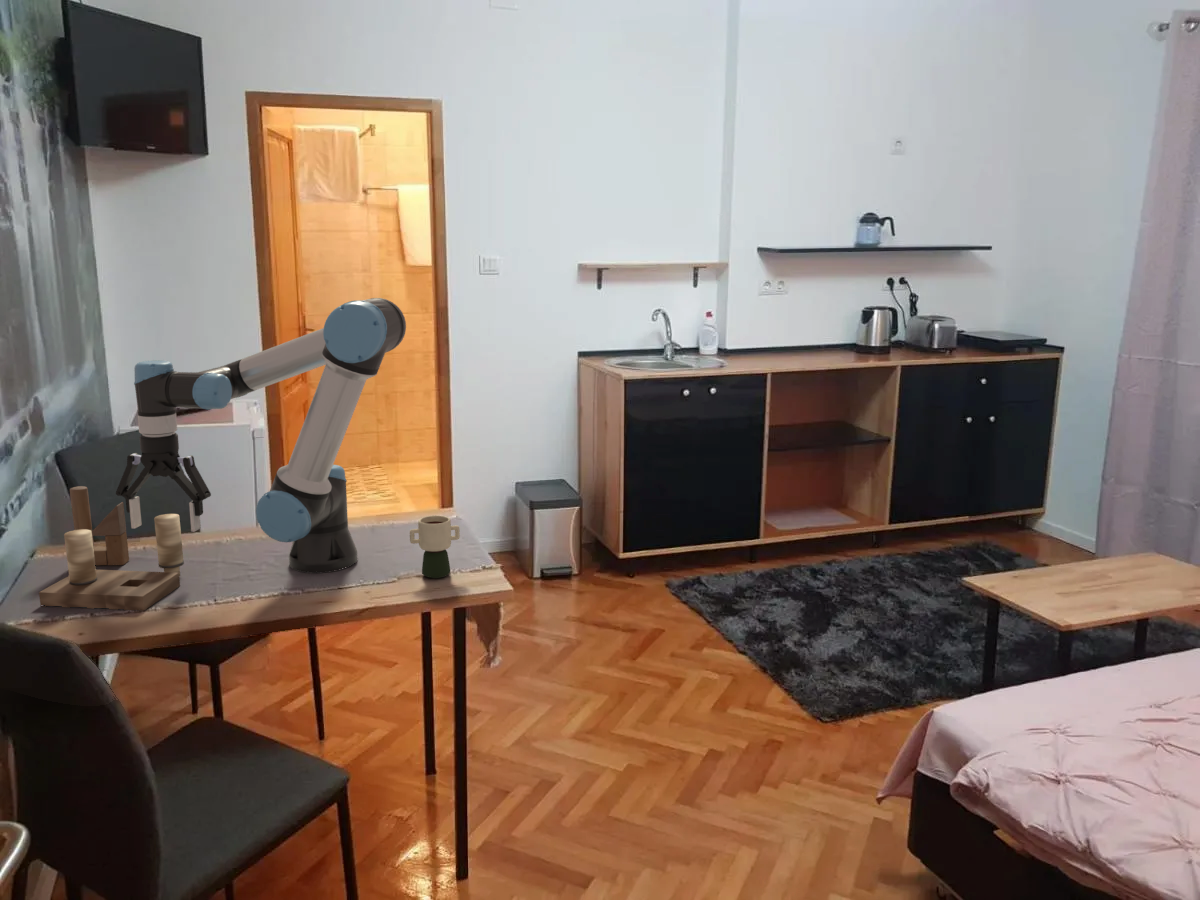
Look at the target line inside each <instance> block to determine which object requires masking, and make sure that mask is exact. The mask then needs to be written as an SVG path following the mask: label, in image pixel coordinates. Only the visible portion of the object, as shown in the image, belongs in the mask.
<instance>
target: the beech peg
mask: <svg viewBox="0 0 1200 900" xmlns="http://www.w3.org/2000/svg"><path fill="white" fill-rule="evenodd" d="M153 520H154V530H155V539H156V550H157V558H158V568H160V569H163V572H174V573H179V577H180V576H181V568H180V567H182V566H183V565H184V564H185V562H184V553H183V542H182V530H181V522H180V520H181V519H180V515H179V514H178V513H165V514H159V515H156V516H155V517H154V519H153Z"/></svg>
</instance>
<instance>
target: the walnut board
mask: <svg viewBox="0 0 1200 900" xmlns="http://www.w3.org/2000/svg"><path fill="white" fill-rule="evenodd" d="M92 531H93V530H92ZM92 531H91V530H87V529H81V530H70V531H66V532H65V533H64V534H63V537H64V545H65V546H64V547H65V552H66V553H65V554H66V561H67V562H66V563H67V571H68V576H66V577H64V578H63V579H60V580H59V581H57V582H55V583H54V584H51V585H49V586H48V587H45V588H44V589H42V590H41V591H38V596H39V603H40V606H41V605H45V606H44V607H46V606H62V607H61V608H70V607H87V608H86V609H94V608H109V609H108V610H118V609H124V610H125V611H142V612H143V611H146V610H147V609H148V608H150V607H151V606H153V605H155V604H156V603H158V602H159V601H160V600H162V599H163V598H165V597H166V596H167V595H170V593H172V592H174V591H175V590H176V589H178V588H180V586H181V581H180V576H179V573H174V572H164V571H147V570H146V571H145V570H144V571H142V570H117V569H116V570H115V569H113V570H112V569H96V566H97V565H96V566H95V558H94V549H93V540H94V539H93V540H92ZM124 610H123V611H124Z"/></svg>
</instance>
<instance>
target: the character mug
mask: <svg viewBox="0 0 1200 900" xmlns="http://www.w3.org/2000/svg"><path fill="white" fill-rule="evenodd" d="M451 520H452V519H451V518H450V517H449V516H446V515H440V514H439V515H426V516H423V517H420V518H418V520H417V521H418V522H417V523H418V525H417V527H418V528H412V529H410V530H409V542H410V544H414V545H415V544H418V545H419V548H420V549H421V550H422V551H424V552H423V558H422V564H421V565H422V566H421V567H422V568H421V574H422V575H423V576H425V577H427V578H430V579H438V578H445V577H446V576H448V575H449V574H451V566H450V560H449V555H448V554H449V553H448V551H447V550H448V549H450V547H452V546H451V545H452V541H456V540H460V536H461V535H460V526H459V525H458V524H457V525H452V521H451ZM452 531H454V535H452ZM415 534H418V538H416V539H415Z"/></svg>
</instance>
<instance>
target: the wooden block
mask: <svg viewBox="0 0 1200 900" xmlns="http://www.w3.org/2000/svg"><path fill="white" fill-rule="evenodd" d="M69 496H70V503H71V505H70V506H71V512H72V514H71V515H72V521H73V529H74V530H81V529H87V530H91V531H92V540H93V549H94V558H95V565H96V566H124V565H126V563H128V562H130V555H129V543H128V537H127V536H128V535H127V525H126V516H125V507H124V506H125V505H124V502H123V501H122V502H120V503H118V504H117V505H116V506H115V507H114V508H112V510H111V511H110V512H109V513H108V514H107V515H106V516H105V517H104V518H103V519H102V521H100V523H99V524H98V525H96V527H94V528H93V525H92V515H91V507H90V499H89V496H90V495H89V489H88V487H87V486H84V485H80V486H79V485H78V486H73V487H70V488H69ZM98 536H99V537H100V536H101V537H102V536H103V537H104V539H105V546H101V545H99V546H95V542H94V537H98Z"/></svg>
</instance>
